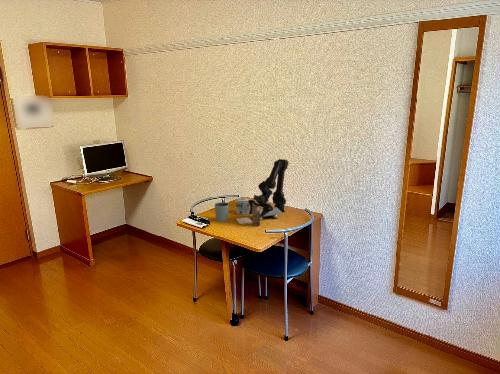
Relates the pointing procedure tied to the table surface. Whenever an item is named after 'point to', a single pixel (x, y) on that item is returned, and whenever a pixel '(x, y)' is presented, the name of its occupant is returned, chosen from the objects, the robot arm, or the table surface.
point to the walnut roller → (256, 215)
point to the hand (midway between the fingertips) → (254, 215)
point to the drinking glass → (221, 211)
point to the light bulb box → (243, 206)
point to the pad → (244, 220)
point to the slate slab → (272, 213)
